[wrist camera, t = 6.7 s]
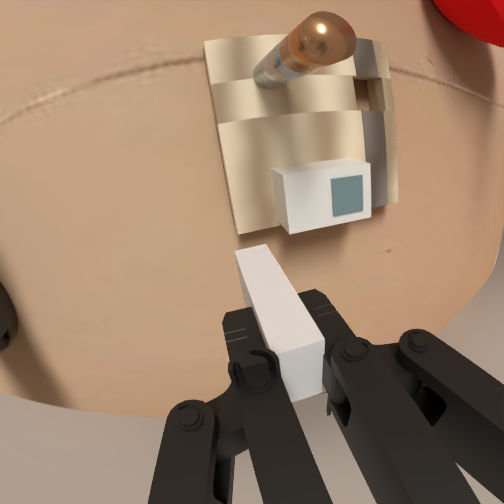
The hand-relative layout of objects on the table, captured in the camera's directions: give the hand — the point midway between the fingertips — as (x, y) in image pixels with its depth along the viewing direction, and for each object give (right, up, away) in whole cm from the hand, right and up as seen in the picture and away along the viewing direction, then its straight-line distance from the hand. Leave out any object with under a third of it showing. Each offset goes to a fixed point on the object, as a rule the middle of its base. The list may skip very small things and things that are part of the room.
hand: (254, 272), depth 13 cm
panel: (+5, +14, +12) cm, 19 cm away
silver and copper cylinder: (+1, +16, +7) cm, 17 cm away
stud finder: (+6, +7, +12) cm, 15 cm away
